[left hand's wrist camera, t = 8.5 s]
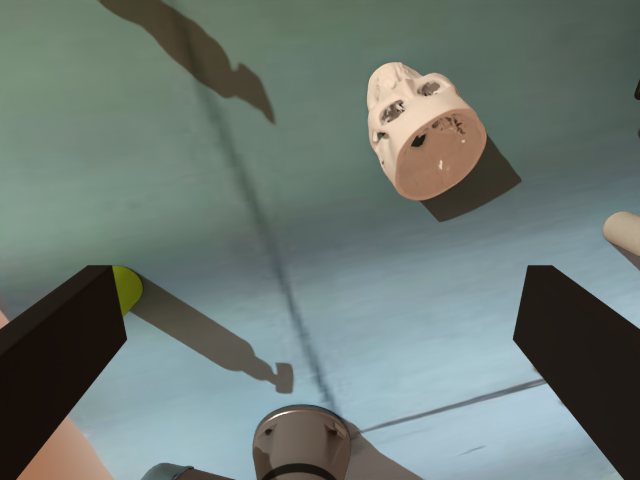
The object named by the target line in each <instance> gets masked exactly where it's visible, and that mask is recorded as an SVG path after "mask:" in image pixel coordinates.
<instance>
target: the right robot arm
mask: <svg viewBox="0 0 640 480" xmlns="http://www.w3.org/2000/svg"><path fill="white" fill-rule="evenodd" d="M634 96H635V98H636V99H637V100H640V80H639V83H638V86H637V88H636V91H635V94H634Z"/></svg>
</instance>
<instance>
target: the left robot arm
mask: <svg viewBox="0 0 640 480" xmlns="http://www.w3.org/2000/svg"><path fill="white" fill-rule="evenodd" d="M126 340H127V336H126V331H125V326H124V321H123V316H122V311H121V306H120V301H119V297H118V292H117V287H116V282H115V277H114V272H113V267H112V265H88V266H86V267H85V268H84V269H82V270H81V271H79V272H78V273H77V274H75V275H74V276H73V277H71V278H70V279H68V280H67V281H66V282H64V283H63V284H62V285H60V286H59V287H57V288H56V289H55V290H53V291H52V292H51V293H49V294H48V295H46V296H45V297H44V298H42V299H41V300H40V301H38V302H37V303H36V304H34V305H33V306H31V307H30V308H29V309H27V310H26V311H25V312H23V313H22V314H20V315H19V316H18V317H16V318H15V319H14V320H12V321H11V322H9V323H8V324H7V325H5V326H4V327H3V328H1V329H0V480H16V479H17V478H18V477H19V475H20V474H21V473H22V471H23V470H24V469H25V468H26V466H27V465H28V464H29V463H30V461H31V460H32V459H33V458H34V456H35V455H36V454H37V453H38V451H39V450H40V449H41V448H42V446H43V445H44V444H45V442H46V441H47V440H48V439H49V437H50V436H51V435H52V434H53V432H54V431H55V430H56V429H57V427H58V426H59V425H60V424H61V422H62V421H63V420H64V418H65V417H66V416H67V415H68V414H69V412H70V411H71V410H72V408H73V407H74V406H75V405H76V403H77V402H78V401H79V400H80V398H81V397H82V396H83V395H84V393H85V392H86V391H87V390H88V388H89V387H90V386H91V385H92V383H93V382H94V381H95V379H96V378H97V377H98V376H99V374H100V373H101V372H102V371H103V369H104V368H105V367H106V366H107V364H108V363H109V362H110V361H111V359H112V358H113V357H114V356H115V354H116V353H117V352H118V350H119V349H120V348H121V347H122V345H123V344H124V343H125V342H126ZM513 340H514V342H515V343H516V344H517V345H518V347H519V348H520V349H521V350H522V352H523V353H524V354H525V356H526V357H527V358H528V359H529V361H530V362H531V363H532V364H533V366H534V367H535V368H536V369H537V371H538V372H539V373H540V374H541V376H542V377H543V378H544V379H545V381H546V382H547V383H548V385H549V386H550V387H551V388H552V390H553V391H554V392H555V393H556V395H557V396H558V397H559V398H560V400H561V401H562V402H563V403H564V405H565V406H566V407H567V408H568V410H569V411H570V412H571V414H572V415H573V416H574V417H575V419H576V420H577V421H578V422H579V424H580V425H581V426H582V427H583V429H584V430H585V431H586V432H587V434H588V435H589V436H590V437H591V439H592V440H593V441H594V443H595V444H596V445H597V446H598V448H599V449H600V450H601V451H602V453H603V454H604V455H605V456H606V458H607V459H608V460H609V461H610V463H611V464H612V465H613V466H614V468H615V469H616V470H617V472H618V473H619V474H620V475H621V477H622V478H623V479H624V480H640V329H639V328H637V327H636V326H635V325H633V324H632V323H631V322H629V321H628V320H626V319H625V318H624V317H622V316H621V315H620V314H618V313H617V312H615V311H614V310H613V309H611V308H610V307H609V306H607V305H606V304H604V303H603V302H602V301H600V300H599V299H598V298H596V297H595V296H594V295H592V294H591V293H589V292H588V291H587V290H585V289H584V288H583V287H581V286H580V285H578V284H577V283H576V282H574V281H573V280H572V279H570V278H569V277H567V276H566V275H565V274H563V273H562V272H561V271H559V270H558V269H556V268H555V267H554V266H552V265H528V267H527V272H526V277H525V282H524V287H523V292H522V297H521V301H520V306H519V311H518V316H517V321H516V326H515V331H514V336H513ZM350 453H351V443H350V435H349V432H348V429H347V427H346V426H345V424H344V423H343V422H342V421H341V420H340V419H339V418H338V417H337V416H336V415H334V414H333V413H331V412H330V411H328V410H326V409H323V408H320V407H317V406H312V405H291V406H286V407H283V408H280V409H277V410H275V411H273V412H272V413H270V414H269V415H267V416H266V417H265V418H264V419H263V420H262V421H261V422H260V424H259V425H258V427H257V429H256V431H255V435H254V440H253V459H254V465H255V471H256V476H257V480H344V478H345V474H346V471H347V467H348V464H349V460H350ZM141 480H234V479H230V478H227V477H223V476H219V475H215V474H212V473H208V472H204V471H200V470H197V469H194V467H192V466H186V467H184V466H179V465H175V464H170V463H160V464H158V465H156V466H154V467H152V468H151V469H150V470H149V471H148V472H147V473H146V474H145V475H144V476H143V478H142V479H141Z"/></svg>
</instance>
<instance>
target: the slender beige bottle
mask: <svg viewBox="0 0 640 480" xmlns="http://www.w3.org/2000/svg"><path fill="white" fill-rule="evenodd" d="M603 235H604V237H605V239H606V240H608V241H610V242H612V243H614V244H616V245H618V246H620V247H622V248H623V249H625V250H627V251H629V252H631V253H633V254H635V255H637V256H639V257H640V216H638V215H635V214H633V213H630V212H627V211H622V212H617V213H615V214H613V215H611V216H610V217H609V218H608V219H607V220H606V222H605V223H604V226H603Z"/></svg>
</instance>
